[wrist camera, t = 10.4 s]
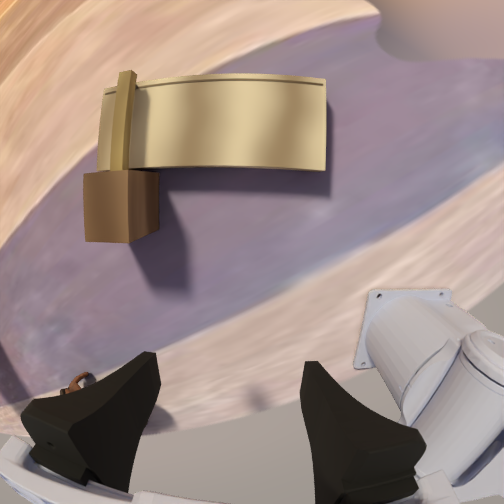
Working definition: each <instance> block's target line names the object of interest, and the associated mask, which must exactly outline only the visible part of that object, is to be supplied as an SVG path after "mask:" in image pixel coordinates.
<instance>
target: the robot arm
mask: <svg viewBox="0 0 504 504" xmlns="http://www.w3.org/2000/svg"><path fill="white" fill-rule="evenodd" d="M440 293H441V295H440ZM378 294H381V295H380V297H378V298H377V295H378ZM439 295H440V296H439ZM451 296H452V291H451V290H450V289H374V290H371V291H370V292H369V293H368V296H367V302H366V307H365V312H364V317H363V322H362V327H361V332H360V336H359V341H358V345H357V349H356V353H355V357H354V361H353V366H354V368H356V369H361V368H373V367H376V368H377V369H378V371H379V373H380V375H381V376H382V378H383V379H384V382H385V383H386V385H387V387H388V389H389V391H390V392H391V394H392V396H393V398H394V400H395V401H396V403H397V405H398V407H399V409H400V411H401V418H400V420H399V421H398V423H396V422H394V421H392V420H390V419H387V418H385V417H383V416H381V415H379V414H377V413H376V412H374V411H372V410H370V409H369V408H367V407H365V406H364V405H363V404H361V403H360V402H359V401H357V400H356V399H355V398H353V397H352V396H351V395H350V394H349V393H347V392H346V391H345V390H344V389H343V388H342V387H341V386H340V385H339V384H338V383H337V382H336V381H335V380H334V379H333V378H332V377H331V376H330V374H329V373H328V372H327V371H326V370H325V369H324V368H323V367H322V365H321V364H320V363H319V362H318V361H305V365H304V371H303V377H302V383H301V388H300V400H301V409H302V413H303V417H304V422H305V426H306V429H307V434H308V438H309V442H310V446H311V452H312V461H313V472H314V485H315V504H460V502H466V501H472V500H477V499H481V498H485V497H489V496H493V495H500V496H501V497H503V498H504V337H503V336H501V335H499V334H497V333H494V332H491V331H488V330H487V328H486V327H485V326H484V325H483V324H482V323H481V322H480V321H479V320H477V319H476V318H474V317H473V316H472V315H470V314H469V313H468V312H466V311H465V310H464V309H462V308H461V307H459V306H458V305H457V304H455V303H454V302H452V301H451ZM363 362H365V363H364V364H362V363H363ZM160 387H161V380H160V375H159V369H158V363H157V357H156V353H153V352H146V351H144V352H143V353H141V354H140V355H138V356H137V357H135V358H134V359H133V360H131V361H130V362H128V363H127V364H126V365H124V366H123V367H121V368H120V369H118V370H117V371H115V372H113V373H112V374H110V375H109V376H107V377H105V378H104V379H102V380H100V381H98V382H96V383H94V384H92V385H89V386H87V387H85V388H82V389H79V390H76V391H74V392H71V393H67V394H63V395H59V396H54V397H48V398H39V399H33V400H32V401H31V403H30V404H29V405H28V406H27V407H26V409H25V410H24V411H23V412H22V413H21V421H22V423H23V425H24V427H25V429H26V430H27V432H28V433H29V435H30V436H31V438H32V439H33V441H34V442H35V446H34V447H33V448H32V447H31V446H30V445H29V444H28V443H26V442H24V441H23V440H21V439H20V438H18V437H16V436H15V435H12V436H11V437H10V438H9V440H8V441H7V442H6V444H5V445H4V446H3V448H2V449H1V450H0V476H1V477H2V478H3V479H4V480H5V482H7V484H8V485H9V486H10V487H12V488H13V489H14V490H15V491H16V492H17V493H18V494H19V495H21V496H22V497H24V498H25V499H27V500H28V501H30V502H31V503H33V504H229V503H223V502H214V501H205V500H197V499H190V498H184V497H177V496H172V495H167V494H162V493H157V492H151V491H140V492H135V493H134V495H132V494H129V493H128V490H129V483H130V477H131V472H132V467H133V463H134V459H135V455H136V451H137V447H138V444H139V440H140V437H141V435H142V432H143V430H144V428H145V425H146V423H147V421H148V419H149V416H150V414H151V412H152V410H153V407H154V405H155V403H156V401H157V397H158V394H159V390H160Z"/></svg>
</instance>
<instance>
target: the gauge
mask: <svg viewBox="0 0 504 504" xmlns="http://www.w3.org/2000/svg"><path fill="white" fill-rule="evenodd" d="M136 78H137V74H136V73H135V72H133V71H132V70H129V71H124V72H120V73H119V78H118V85H117V91H116V99H115V107H114V116H113V126H112V138H111V154H110V171H107V172H96V173H86V174H84V180H83V199H84V227H85V242H109V243H131V242H133V241H135V240H137V239H139V238H141V237H144V236H146V235H148V234H150V233H152V232H155V231H157V230H159V173H156V172H146V171H136V170H129V148H130V133H131V121H132V111H133V101H134V93H135V90H136V89H137V88H138V85H137V84H136Z"/></svg>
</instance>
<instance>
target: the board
mask: <svg viewBox="0 0 504 504" xmlns="http://www.w3.org/2000/svg"><path fill="white" fill-rule="evenodd" d="M136 84H137V85H138V88H137V89H136V90H135V93H134V101H133V111H132V121H131V133H130V148H129V170H139V169H159V168H194V167H228V168H264V169H285V170H300V171H313V172H321V171H325V163H326V79H319V78H311V77H301V76H290V75H274V74H208V75H193V76H181V77H172V78H163V79H156V80H149V81H142V82H136ZM116 91H117V86H115V87H111V88H106V89H104V94H103V101H102V108H101V117H100V127H99V138H98V154H97V171H105V172H107V171H110V154H111V138H112V126H113V116H114V107H115V99H116Z"/></svg>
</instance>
